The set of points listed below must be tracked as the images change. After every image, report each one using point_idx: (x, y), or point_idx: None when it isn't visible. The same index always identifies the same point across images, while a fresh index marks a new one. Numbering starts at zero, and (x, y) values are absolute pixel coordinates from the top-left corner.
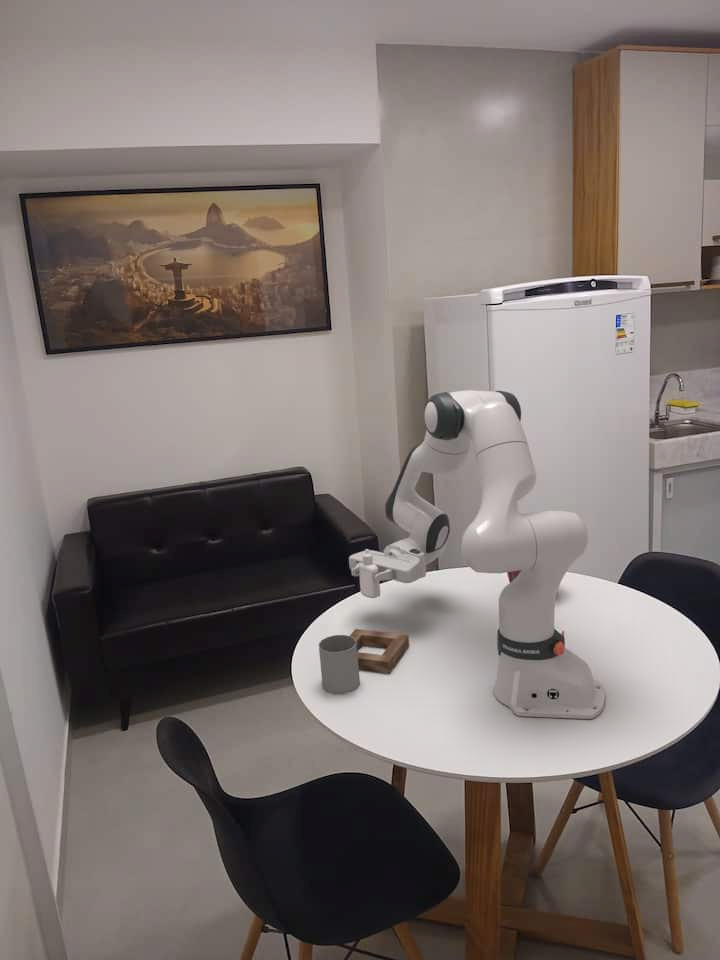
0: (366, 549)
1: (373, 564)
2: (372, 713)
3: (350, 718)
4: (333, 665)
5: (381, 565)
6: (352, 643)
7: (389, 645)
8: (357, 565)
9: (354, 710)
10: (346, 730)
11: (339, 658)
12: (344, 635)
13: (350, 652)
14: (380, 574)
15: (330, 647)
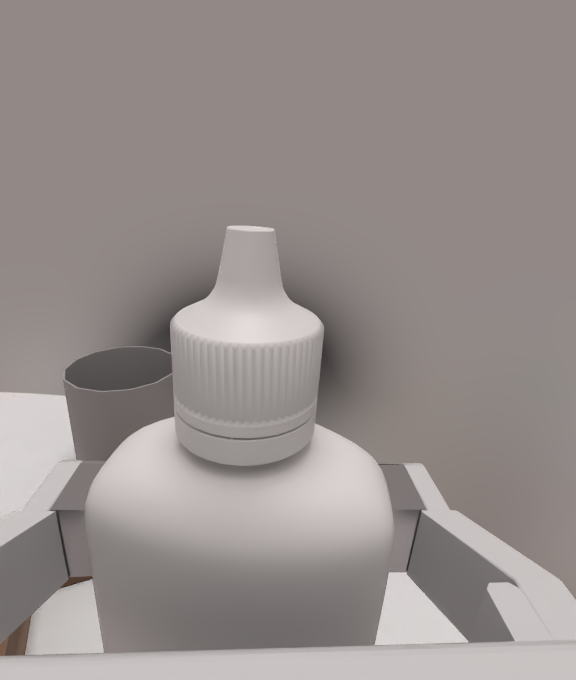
0: (262, 229)
1: (161, 456)
2: (4, 437)
3: (52, 415)
4: (117, 379)
5: (81, 656)
6: (97, 409)
7: (4, 646)
8: (492, 545)
9: (53, 430)
10: (47, 398)
11: (98, 367)
12: (126, 389)
13: (71, 372)
14: (31, 505)
15: (171, 405)
